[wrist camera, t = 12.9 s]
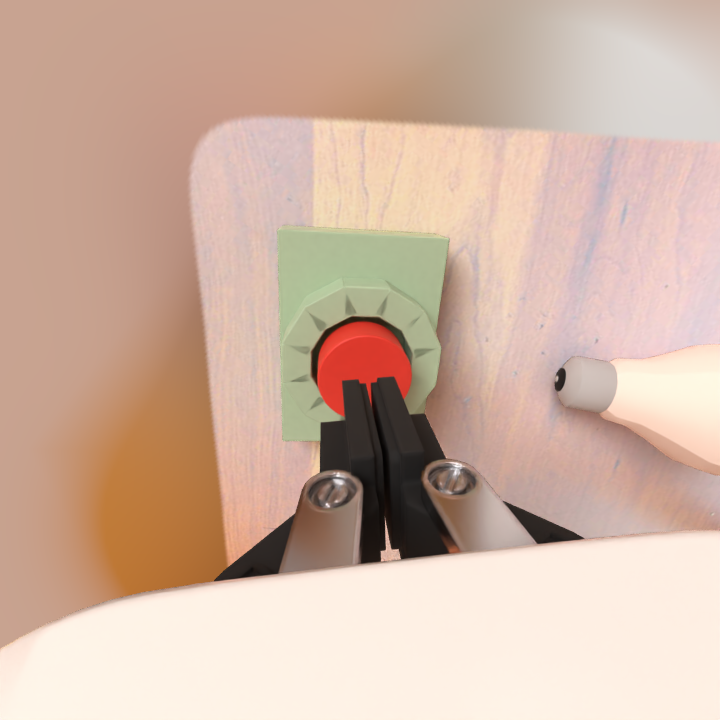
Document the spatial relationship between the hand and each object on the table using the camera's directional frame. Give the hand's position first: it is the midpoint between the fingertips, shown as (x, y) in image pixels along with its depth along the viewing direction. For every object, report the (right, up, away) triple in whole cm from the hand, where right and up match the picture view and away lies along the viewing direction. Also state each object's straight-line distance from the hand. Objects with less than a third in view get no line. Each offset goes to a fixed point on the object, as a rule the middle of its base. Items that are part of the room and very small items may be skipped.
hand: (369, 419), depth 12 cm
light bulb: (+15, +1, +10) cm, 18 cm away
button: (0, +2, +4) cm, 4 cm away
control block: (-1, +3, +7) cm, 8 cm away
